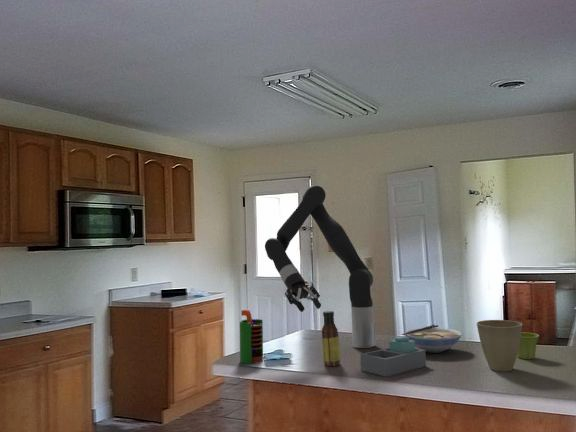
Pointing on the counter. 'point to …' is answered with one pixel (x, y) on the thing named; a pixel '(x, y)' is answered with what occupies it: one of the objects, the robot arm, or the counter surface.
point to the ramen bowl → (433, 338)
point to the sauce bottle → (330, 340)
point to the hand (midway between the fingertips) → (311, 309)
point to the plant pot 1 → (500, 342)
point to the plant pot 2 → (527, 345)
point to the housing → (392, 361)
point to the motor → (251, 339)
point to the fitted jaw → (402, 345)
